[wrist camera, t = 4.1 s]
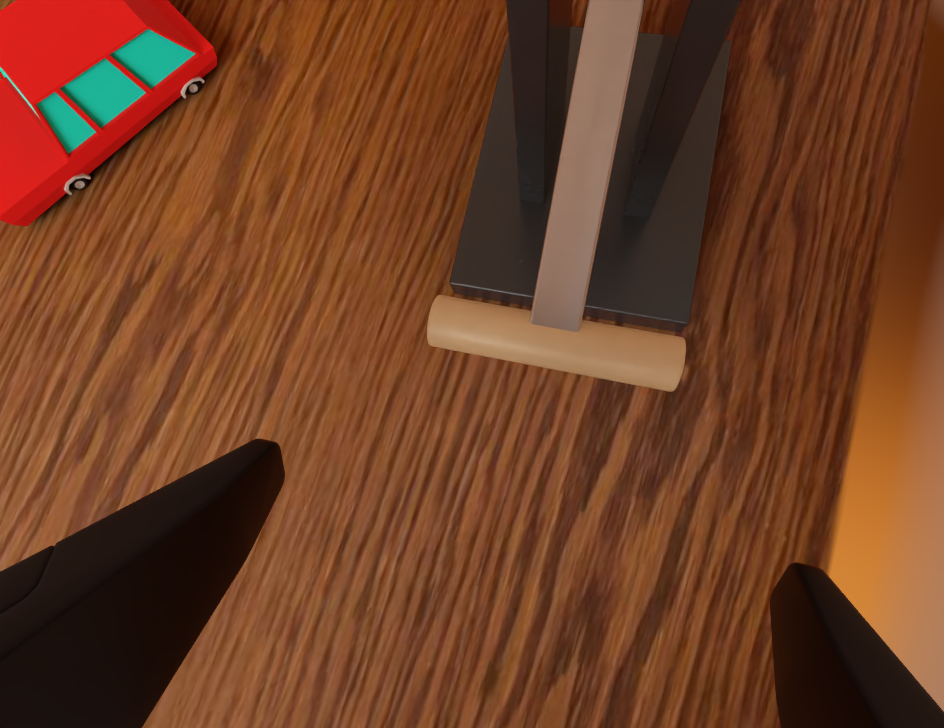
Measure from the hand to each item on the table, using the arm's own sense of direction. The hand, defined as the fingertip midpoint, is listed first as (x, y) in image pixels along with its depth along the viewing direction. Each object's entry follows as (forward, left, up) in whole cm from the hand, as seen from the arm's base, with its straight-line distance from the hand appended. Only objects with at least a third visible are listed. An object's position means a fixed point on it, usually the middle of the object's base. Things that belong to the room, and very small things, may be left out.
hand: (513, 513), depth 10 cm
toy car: (+11, +25, -11) cm, 29 cm away
